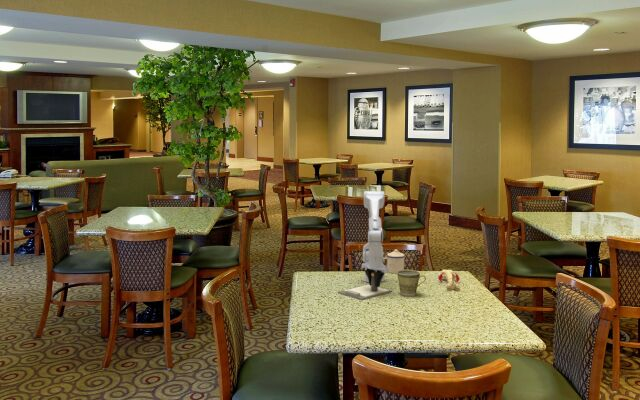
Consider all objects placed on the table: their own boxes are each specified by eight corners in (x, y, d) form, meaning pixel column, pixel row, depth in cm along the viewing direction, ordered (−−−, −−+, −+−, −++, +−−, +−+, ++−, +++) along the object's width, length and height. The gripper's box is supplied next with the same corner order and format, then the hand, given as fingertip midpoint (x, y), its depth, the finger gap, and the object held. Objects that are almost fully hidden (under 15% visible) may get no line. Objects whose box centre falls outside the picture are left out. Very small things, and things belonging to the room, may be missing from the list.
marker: (374, 289, 272) (374, 272, 271) (379, 290, 270) (379, 273, 269) (369, 290, 270) (369, 273, 269) (374, 291, 268) (374, 274, 267)
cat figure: (464, 294, 274) (456, 276, 298) (465, 276, 272) (456, 259, 296) (442, 293, 275) (435, 276, 299) (442, 275, 273) (436, 259, 297)
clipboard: (368, 285, 282) (368, 282, 282) (392, 291, 271) (392, 288, 271) (337, 293, 269) (337, 289, 269) (361, 300, 258) (362, 296, 258)
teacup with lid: (404, 270, 314) (405, 248, 312) (404, 274, 305) (404, 251, 303) (381, 269, 316) (381, 247, 314) (380, 273, 307) (380, 250, 305)
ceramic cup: (393, 295, 266) (394, 273, 265) (401, 290, 275) (401, 268, 273) (421, 299, 260) (422, 276, 259) (428, 293, 269) (429, 272, 267)
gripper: (357, 255, 271) (356, 284, 272) (381, 260, 260) (380, 290, 262) (367, 253, 275) (367, 281, 277) (391, 258, 265) (391, 288, 266)
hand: (374, 286), depth 270 cm, fingers closed on marker, 3 cm apart
